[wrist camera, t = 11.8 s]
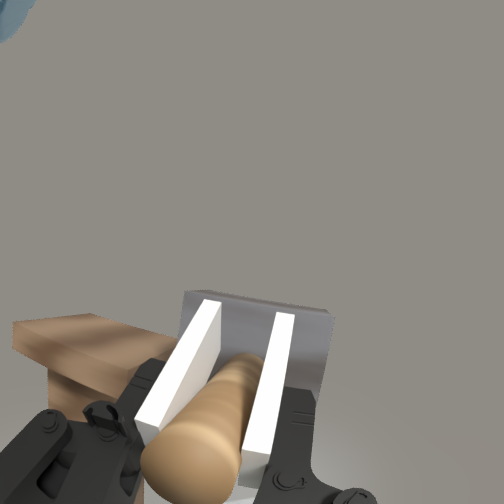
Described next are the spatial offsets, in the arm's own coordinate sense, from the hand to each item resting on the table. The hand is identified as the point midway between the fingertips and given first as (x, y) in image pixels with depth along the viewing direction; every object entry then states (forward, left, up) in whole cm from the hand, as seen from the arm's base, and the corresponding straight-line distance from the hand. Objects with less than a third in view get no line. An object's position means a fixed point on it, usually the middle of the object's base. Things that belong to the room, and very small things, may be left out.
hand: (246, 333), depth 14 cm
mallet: (0, 0, -4) cm, 4 cm away
